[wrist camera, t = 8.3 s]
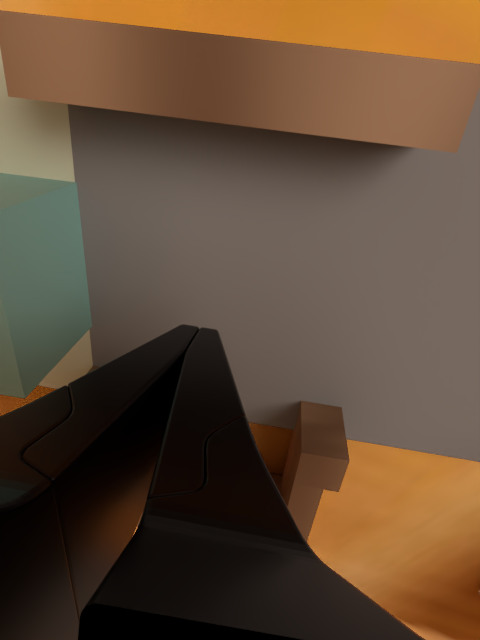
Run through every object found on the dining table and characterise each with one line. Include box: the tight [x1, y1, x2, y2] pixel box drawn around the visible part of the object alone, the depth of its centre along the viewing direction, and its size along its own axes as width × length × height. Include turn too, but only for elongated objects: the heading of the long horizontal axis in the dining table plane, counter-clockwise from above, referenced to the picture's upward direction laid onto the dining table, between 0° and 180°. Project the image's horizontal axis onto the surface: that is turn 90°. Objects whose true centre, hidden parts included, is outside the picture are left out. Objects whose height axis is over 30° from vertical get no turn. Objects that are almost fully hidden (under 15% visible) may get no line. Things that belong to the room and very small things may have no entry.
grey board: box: [0, 49, 480, 462], centre depth 13 cm, size 20×12×1 cm, turn 85°
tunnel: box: [0, 10, 480, 542], centre depth 13 cm, size 10×16×3 cm, turn 175°
